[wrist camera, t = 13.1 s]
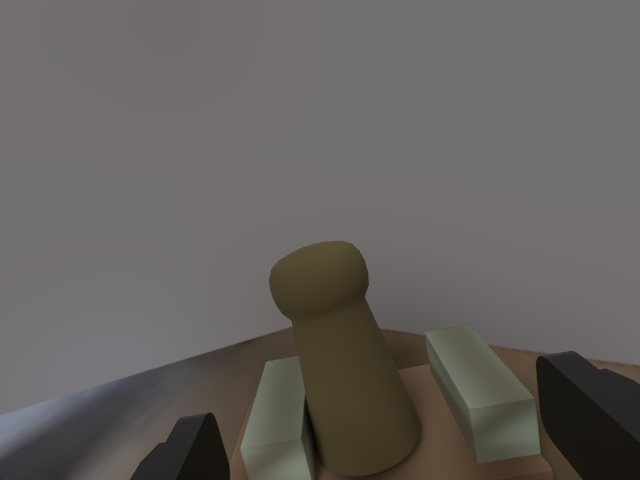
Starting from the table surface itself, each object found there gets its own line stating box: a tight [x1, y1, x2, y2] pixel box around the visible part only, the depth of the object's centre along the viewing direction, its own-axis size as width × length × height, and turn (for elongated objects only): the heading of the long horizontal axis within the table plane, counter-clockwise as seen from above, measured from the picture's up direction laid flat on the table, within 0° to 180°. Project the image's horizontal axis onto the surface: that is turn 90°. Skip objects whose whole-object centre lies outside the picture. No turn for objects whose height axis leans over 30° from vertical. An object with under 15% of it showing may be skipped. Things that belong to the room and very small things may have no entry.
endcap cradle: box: [229, 324, 554, 480], centre depth 22 cm, size 16×10×4 cm, turn 89°
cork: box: [269, 241, 421, 476], centre depth 20 cm, size 6×6×11 cm
